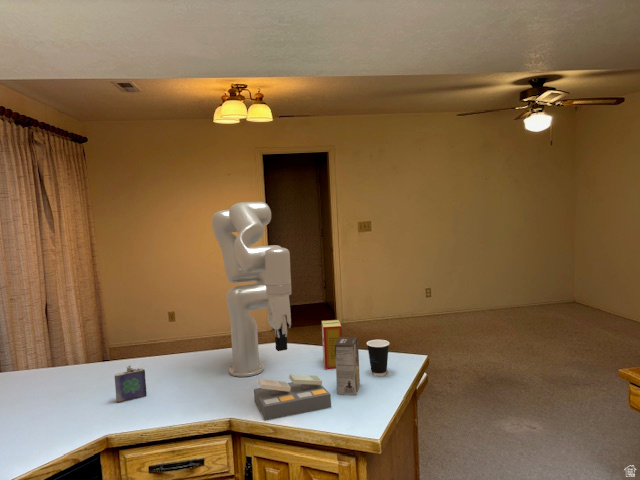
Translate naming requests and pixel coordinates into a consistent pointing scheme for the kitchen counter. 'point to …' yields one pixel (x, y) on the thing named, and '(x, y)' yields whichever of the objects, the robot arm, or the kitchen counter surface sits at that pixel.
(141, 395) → the flask
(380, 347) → the dixie cup
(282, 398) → the switch unit
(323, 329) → the baking soda box
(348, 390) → the coffee box
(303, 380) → the block
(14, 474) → the kitchen counter surface
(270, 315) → the robot arm
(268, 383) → the rocker offwhite
